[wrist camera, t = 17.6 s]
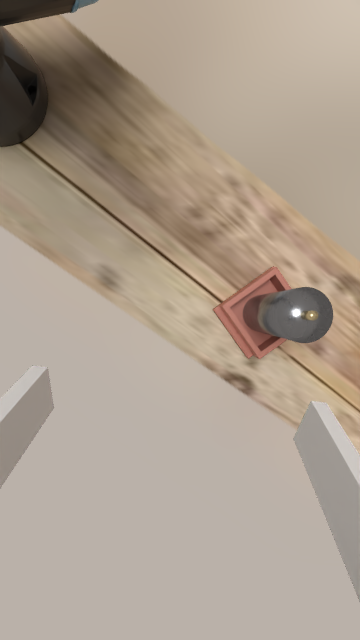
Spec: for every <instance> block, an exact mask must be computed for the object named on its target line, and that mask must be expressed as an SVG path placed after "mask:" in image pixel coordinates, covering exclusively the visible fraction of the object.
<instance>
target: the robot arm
mask: <svg viewBox="0 0 360 640" xmlns="http://www.w3.org/2000/svg"><path fill="white" fill-rule="evenodd" d="M97 1H98V0H0V146H8V145H13V144H17V143H19V142H21V141H23V140H25V139H27V138H28V137H29V136H31V135H32V134H33V133H34V132H35V131H36V130H37V128H38V127H39V126H40V124H41V122H42V120H43V118H44V116H45V113H46V109H47V100H48V97H47V88H46V84H45V81H44V78H43V76H42V74H41V72H40V70H39V68H38V67H37V65H36V63H35V61H34V60H33V58H32V57H31V55H30V54H29V53H28V51H27V50H26V49H25V48H24V47H23V46H22V45H21V44H20V43H19V42H18V41H17V40H16V39H15V38H14V37H13V36H12V35H11V34H10V33H9V32H8V31H7V30H6V29H5V28H4V27H3V26H5V25H10V24H14V23H19V22H24V21H29V20H34V19H39V18H44V17H49V16H54V15H59V14H64V13H69V12H70V13H73V12H75V11H77V9H78V8H81V7H84V6H87V5H90V4H93V3H95V2H97ZM53 408H54V406H53V399H52V393H51V387H50V380H49V373H48V367H42V366H34V365H32V366H31V367H30V368H29V369H28V370H27V371H26V372H25V373H24V374H23V375H22V376H21V377H20V378H19V380H17V382H16V383H15V384H14V385H13V386H12V387H11V388H10V389H9V390H8V391H7V392H6V393H5V394H4V395H3V396H2V397H1V398H0V488H1V486H2V485H3V483H4V482H5V480H6V479H7V477H8V476H9V474H10V473H11V471H12V470H13V468H14V467H15V465H16V464H17V462H18V461H19V459H20V458H21V456H22V455H23V453H24V452H25V450H26V449H27V447H28V446H29V444H30V443H31V441H32V440H33V438H34V437H35V435H36V434H37V432H38V431H39V429H40V428H41V426H42V425H43V423H44V422H45V420H46V419H47V417H48V416H49V414H50V413H51V411H52V410H53ZM293 439H294V441H295V444H296V446H297V449H298V451H299V453H300V456H301V458H302V461H303V463H304V466H305V468H306V471H307V473H308V475H309V478H310V481H311V483H312V485H313V488H314V490H315V493H316V495H317V498H318V500H319V503H320V505H321V507H322V510H323V512H324V515H325V517H326V520H327V522H328V525H329V527H330V530H331V532H332V535H333V537H334V540H335V542H336V544H337V547H338V549H339V552H340V554H341V557H342V559H343V562H344V564H345V567H346V569H347V571H348V574H349V576H350V579H351V581H352V584H353V586H354V589H355V591H356V594H357V596H358V599H359V601H360V455H359V453H358V452H357V450H356V448H355V447H354V445H353V444H352V442H351V441H350V439H349V437H348V436H347V434H346V433H345V431H344V430H343V428H342V426H341V425H340V423H339V422H338V420H337V419H336V417H335V415H334V414H333V412H332V411H331V409H330V408H329V406H328V405H327V403H324V402H316V401H311V402H310V404H309V406H308V408H307V411H306V413H305V415H304V417H303V419H302V421H301V423H300V425H299V427H298V430H297V432H296V434H295V436H294V438H293Z"/></svg>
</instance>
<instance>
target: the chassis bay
mask: <svg viewBox="0 0 360 640" xmlns="http://www.w3.org/2000/svg"><path fill="white" fill-rule="evenodd" d="M290 289H291V287H290V286H289V284H288V283H287V282H286V280H285V279H284V277H283V276H282V274H281V273H280V271H279V270H278V268H277V267H274V266H273V267H271V268H270V269H268V270H267V271H265V272H264V273H263V274H261V275H260V276H258V277H257V278H256V279H254V280H253V281H251V282H250V283H249V284H247V285H246V286H245V287H243V288H242V289H240V290H239V291H238V292H236V293H235V294H233V295H232V296H231V297H229V298H228V299H226V300H225V301H224V302H222V303H221V304H219V305H218V306H217V307H215V308H214V309H213V310H214V312H215V313H216V315H217V316H218V318H219V319H220V320H221V322H222V323H223V325H224V326H225V327H226V329H227V330H228V332H229V333H230V334H231V336H232V337H233V339H234V340H235V342H236V343H237V344H238V346H239V347H240V349H241V350H242V351H243V353H244V354H245V356H246V357H247V358H248V359H249V358H250V357H252V356H253V355H254V356H256V357H257V358H259V359H260V358H262V357H263V356H265V355H266V354H267V353H269V352H270V351H272V350H273V349H275V348H276V347H277V346H279V345H280V344H282V343H283V342H284V341H286V340H287V339H284V338H280V337H277V336H273V335H269V334H265V333H262V332H258V331H254V330H252V329H251V328H249V327H248V326H247V325H246V323H245V321H244V319H243V309H244V306H245V304H246V302H247V301H248V300H249V299H251V298H252V297H254V296H257V295H262V294H268V293H274V292H279V291H285V290H290Z"/></svg>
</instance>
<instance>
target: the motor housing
mask: <svg viewBox="0 0 360 640" xmlns="http://www.w3.org/2000/svg"><path fill="white" fill-rule="evenodd" d="M243 319H244V321H245V323H246V325H247V326H248V327H249V328H251V329H252V330H254V331H258V332H262V333H265V334H269V335H273V336H277V337H280V338H284V339H288V340H292V341H295V342H299V343H310V342H314V341H316V340H318V339H320V338H321V337H323V336H324V335H325V334H326V333H327V331H328V330H329V328H330V326H331V324H332V320H333V309H332V305H331V303H330V301H329V299H328V298H327V297H326V296H325V295H324V294H323V293H322V292H321V291H319V290H317V289H314V288H310V287H302V288H296V289H290V290H285V291H279V292H274V293H268V294H262V295H257V296H254V297H252V298H251V299H249V300H248V301H247V302H246V304H245V306H244V309H243Z"/></svg>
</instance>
